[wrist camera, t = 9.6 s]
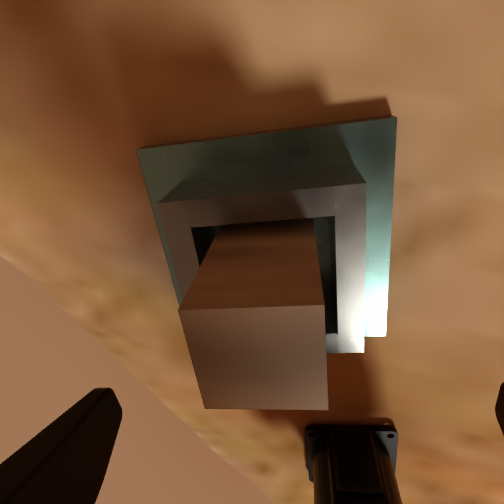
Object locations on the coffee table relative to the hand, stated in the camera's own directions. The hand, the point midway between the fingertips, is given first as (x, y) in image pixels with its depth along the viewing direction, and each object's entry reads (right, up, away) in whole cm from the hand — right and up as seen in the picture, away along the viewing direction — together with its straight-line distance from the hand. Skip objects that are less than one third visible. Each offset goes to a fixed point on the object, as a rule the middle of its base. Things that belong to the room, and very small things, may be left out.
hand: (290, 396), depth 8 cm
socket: (0, +4, +11) cm, 11 cm away
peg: (0, +3, +10) cm, 11 cm away
